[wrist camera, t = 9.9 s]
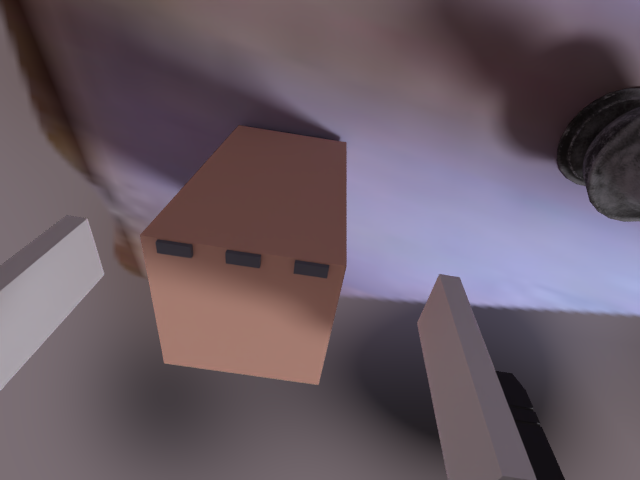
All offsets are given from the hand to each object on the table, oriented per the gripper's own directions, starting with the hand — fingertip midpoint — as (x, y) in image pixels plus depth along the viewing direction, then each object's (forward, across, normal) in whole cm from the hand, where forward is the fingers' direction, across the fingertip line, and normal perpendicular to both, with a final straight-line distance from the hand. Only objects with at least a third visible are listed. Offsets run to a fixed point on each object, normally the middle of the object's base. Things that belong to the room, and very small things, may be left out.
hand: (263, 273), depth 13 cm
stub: (+9, 0, 0) cm, 9 cm away
